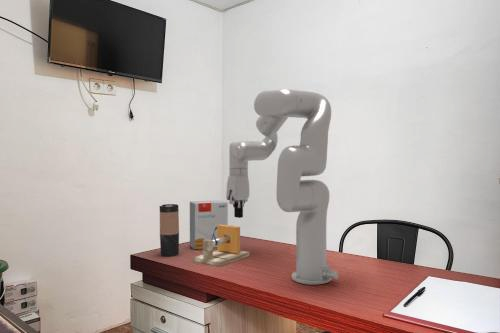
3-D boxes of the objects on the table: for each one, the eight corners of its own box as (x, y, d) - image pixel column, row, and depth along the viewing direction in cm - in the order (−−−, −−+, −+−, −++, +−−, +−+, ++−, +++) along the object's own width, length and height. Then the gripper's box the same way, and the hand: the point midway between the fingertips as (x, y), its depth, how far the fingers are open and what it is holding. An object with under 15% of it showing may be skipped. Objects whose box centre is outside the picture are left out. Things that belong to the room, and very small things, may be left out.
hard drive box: (193, 250, 164) (193, 203, 163) (189, 246, 171) (188, 201, 170) (228, 246, 170) (227, 201, 169) (222, 243, 177) (222, 199, 176)
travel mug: (182, 254, 156) (181, 205, 156) (164, 257, 152) (163, 206, 152) (174, 251, 163) (174, 203, 162) (157, 253, 158) (156, 205, 158)
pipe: (238, 240, 156) (238, 233, 156) (209, 248, 142) (209, 241, 142) (233, 239, 157) (233, 233, 157) (204, 247, 144) (204, 240, 144)
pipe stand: (249, 255, 153) (249, 234, 153) (219, 266, 139) (219, 243, 139) (224, 251, 161) (224, 231, 161) (193, 261, 147) (193, 238, 146)
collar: (240, 252, 151) (240, 226, 151) (237, 253, 149) (236, 227, 149) (220, 249, 157) (220, 224, 157) (217, 250, 155) (217, 225, 155)
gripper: (242, 171, 166) (242, 213, 167) (219, 173, 154) (219, 218, 155) (256, 172, 162) (256, 215, 163) (234, 173, 150) (234, 220, 151)
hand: (238, 217), depth 159 cm, fingers closed
